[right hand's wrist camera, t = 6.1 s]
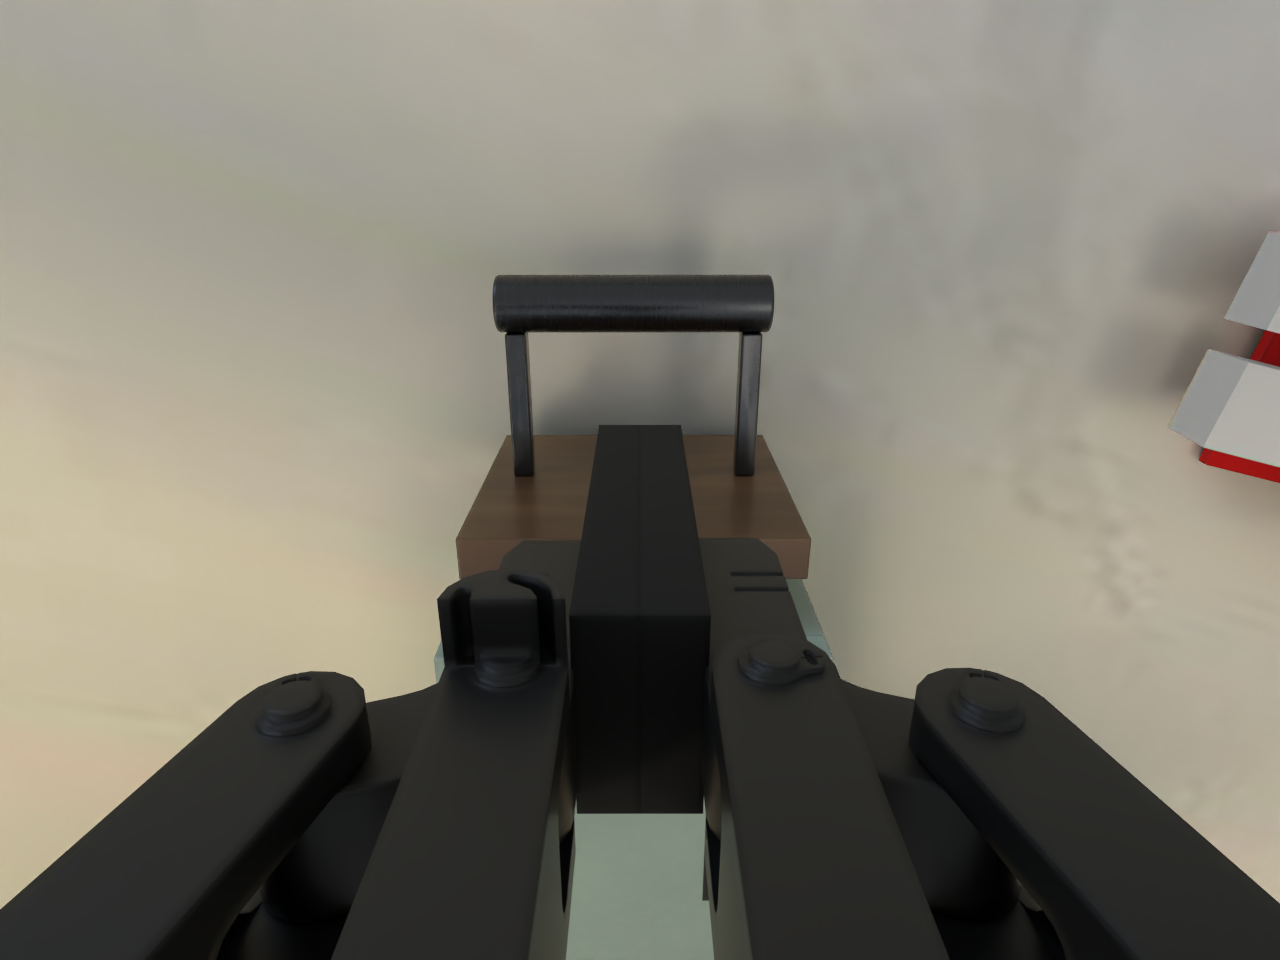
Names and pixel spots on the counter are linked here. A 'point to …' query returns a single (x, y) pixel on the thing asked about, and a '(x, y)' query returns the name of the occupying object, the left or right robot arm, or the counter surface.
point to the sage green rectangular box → (646, 869)
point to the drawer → (562, 464)
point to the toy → (1241, 382)
